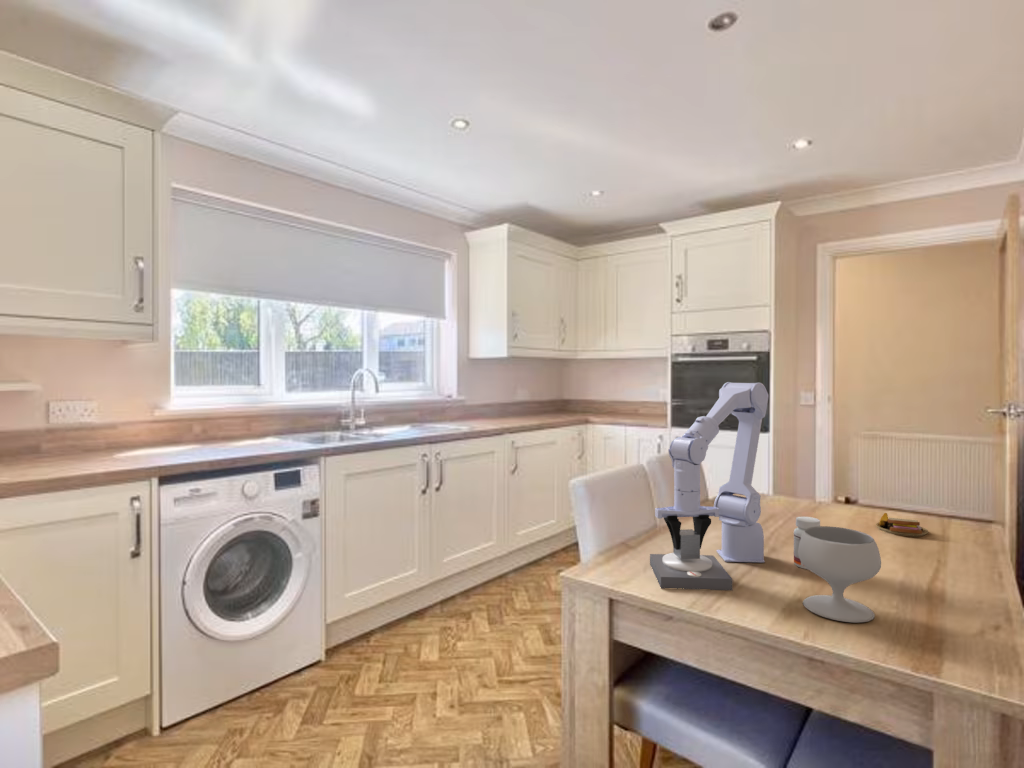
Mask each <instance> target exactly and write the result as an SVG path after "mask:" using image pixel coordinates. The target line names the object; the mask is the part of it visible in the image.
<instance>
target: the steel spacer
mask: <svg viewBox="0 0 1024 768" xmlns="http://www.w3.org/2000/svg"><path fill="white" fill-rule="evenodd" d="M672 547H673V546H672ZM672 553H674V554H675V555H676V556H677V557H679V558H680V559H700V555H701V549H700V535H699V534H698V533H697V532H695V531H694V529H691V528H690V529H689V528H688V529H680V547H679V550H676V549H675V548H674V547H673V552H672Z"/></svg>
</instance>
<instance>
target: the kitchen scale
mask: <svg viewBox="0 0 1024 768" xmlns="http://www.w3.org/2000/svg"><path fill="white" fill-rule="evenodd" d="M649 565H650V568H651V567H652V568H651V570H652V569H653V570H652V571H653V574H654V576H655V578H657V579H656V580H658V581H657V583H658V585H659V587H661V588H660V589H665V588H677V589H676V590H679V589H678V588H682V589H681V590H700V589H710V591H733V578H732V577H731V575H730V574H729V572H728V571H727V570H726V569H725V568H724V567H723V566H722V564H721V563H720V561H718V560H717V559H716V557H715V556H714V555H712V554H710V555H708V554H707V555H706V554H700V559H680V558H679V557H677V556H676V555H675V554H674V553H673V552H670V553H666V554H664V553H650V554H649ZM683 588H684V589H683Z"/></svg>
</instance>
